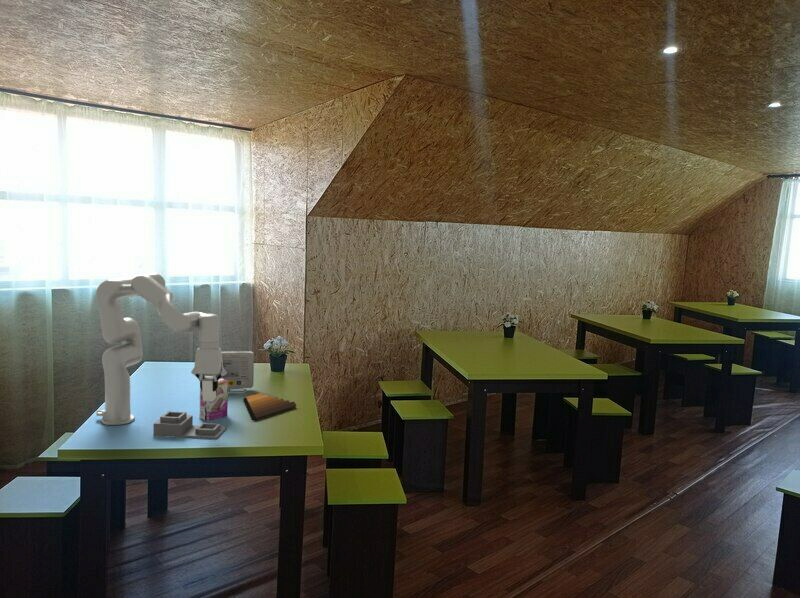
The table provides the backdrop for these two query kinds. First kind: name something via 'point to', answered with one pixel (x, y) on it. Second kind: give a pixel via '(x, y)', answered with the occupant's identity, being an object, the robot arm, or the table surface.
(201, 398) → the candy bar box
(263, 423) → the table surface
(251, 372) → the network device
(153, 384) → the table surface
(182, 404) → the table surface
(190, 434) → the stepped socket base
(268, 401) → the pan flute
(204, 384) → the plug
